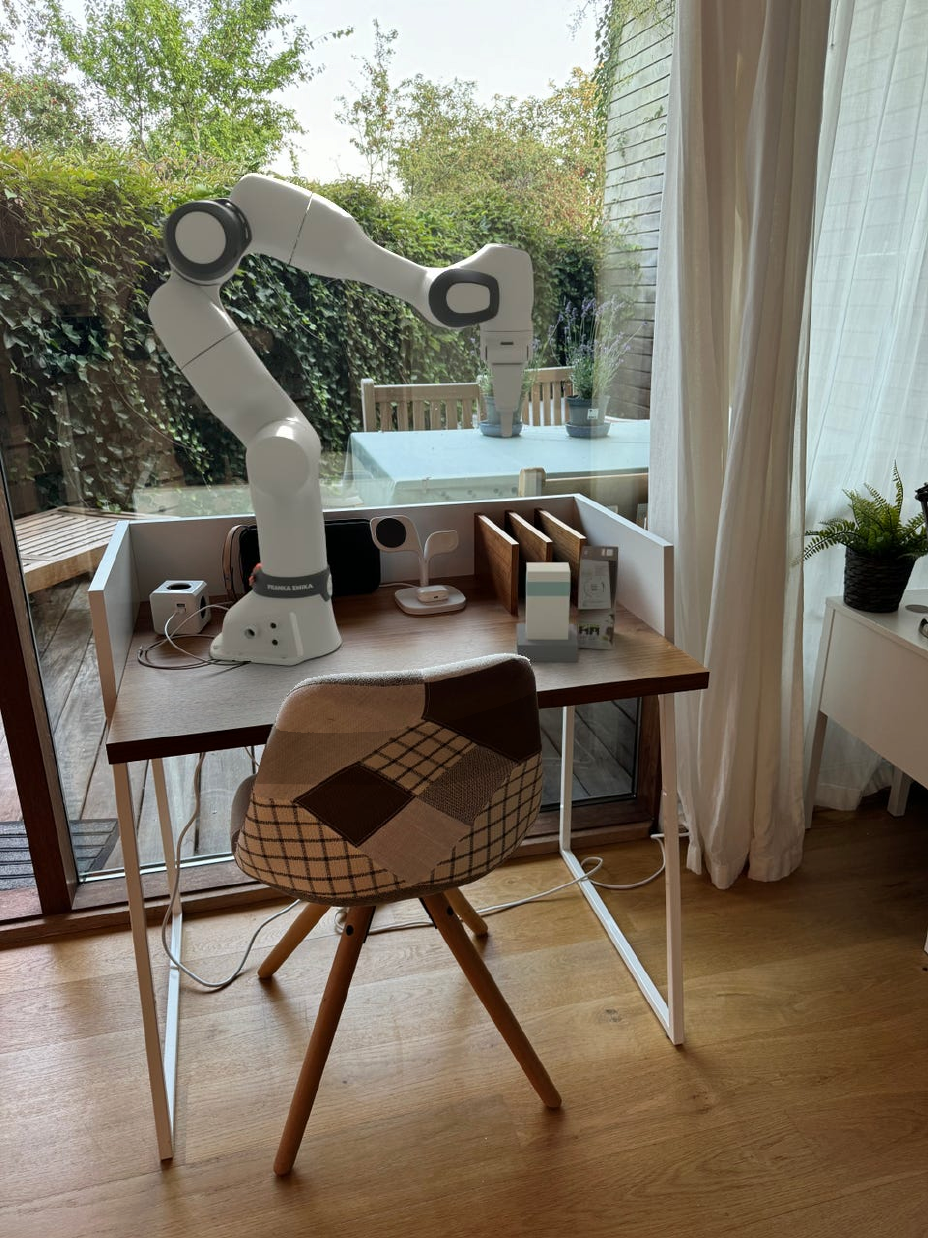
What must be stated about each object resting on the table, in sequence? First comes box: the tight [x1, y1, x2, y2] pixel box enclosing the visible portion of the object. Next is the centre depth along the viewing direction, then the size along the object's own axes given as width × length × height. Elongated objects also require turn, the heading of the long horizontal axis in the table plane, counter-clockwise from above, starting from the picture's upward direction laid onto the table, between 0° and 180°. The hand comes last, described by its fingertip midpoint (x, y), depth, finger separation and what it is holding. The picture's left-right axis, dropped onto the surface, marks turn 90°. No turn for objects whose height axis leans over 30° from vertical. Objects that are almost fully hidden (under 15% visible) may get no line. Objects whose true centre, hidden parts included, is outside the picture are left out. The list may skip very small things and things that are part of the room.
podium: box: [516, 623, 579, 663], centre depth 151 cm, size 10×10×3 cm
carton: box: [525, 562, 571, 640], centre depth 148 cm, size 7×5×12 cm
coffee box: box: [576, 545, 619, 651], centre depth 153 cm, size 9×6×16 cm
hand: (506, 431), depth 152 cm, fingers open, 8 cm apart
